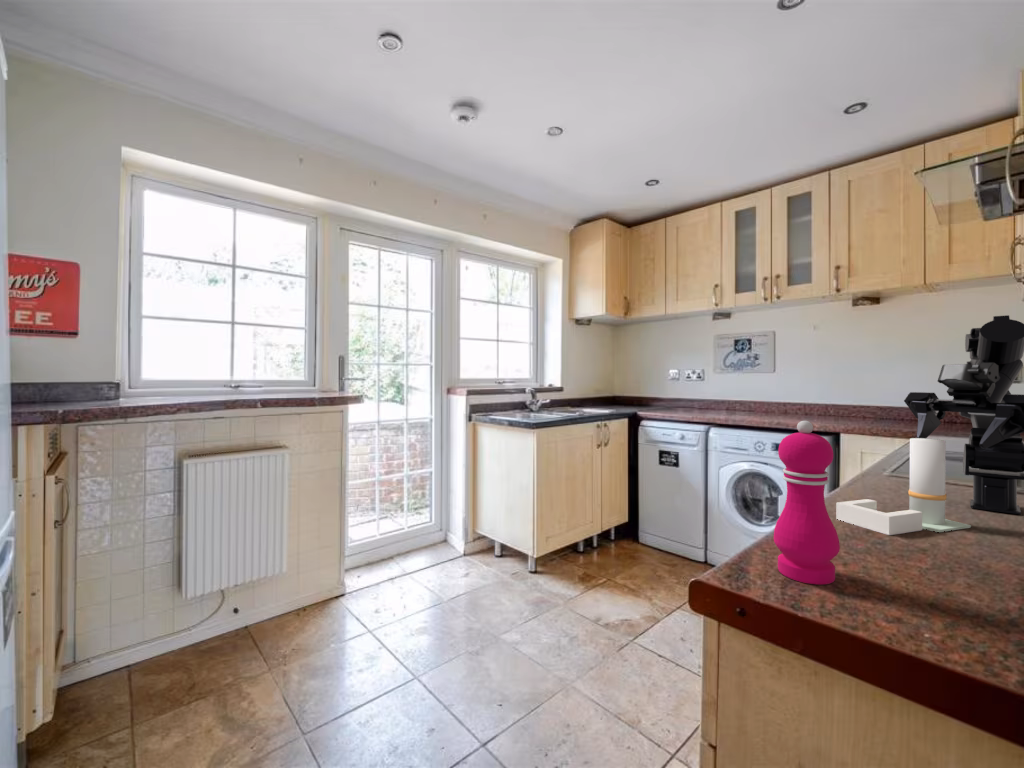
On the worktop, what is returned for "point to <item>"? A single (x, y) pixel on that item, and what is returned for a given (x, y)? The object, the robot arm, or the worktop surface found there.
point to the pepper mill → (806, 510)
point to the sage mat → (945, 526)
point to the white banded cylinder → (928, 479)
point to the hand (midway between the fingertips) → (948, 443)
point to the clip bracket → (878, 517)
